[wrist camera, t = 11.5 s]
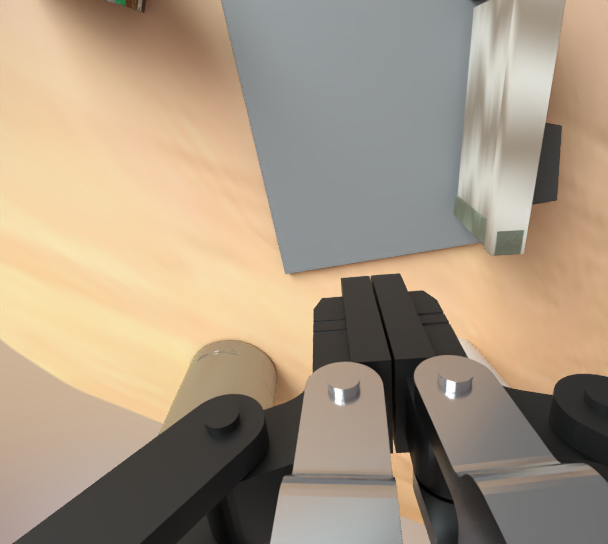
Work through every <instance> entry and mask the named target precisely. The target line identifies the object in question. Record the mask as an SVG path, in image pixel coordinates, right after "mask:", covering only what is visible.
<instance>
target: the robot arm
mask: <svg viewBox="0 0 608 544" xmlns="http://www.w3.org/2000/svg"><path fill="white" fill-rule="evenodd" d="M341 289H342V297H332V298H322V299H321V300H320V302H319V303H318V304H317V306H316V307H315V308H314V324H313V333H314V334H313V374H312V375H311V376H310V377H309V378H308V380H307V382H306V386H305V391H304V392H302V393H301V394H300V395H299V396H297V397H296V398H294V399H292V400H290V401H288V402H286V403H283V404H281V405H277V406H274V399H275V391H276V384H277V374H276V370H275V367H274V365H273V363H272V362H271V360H270V359H269V358H268V357H267V355H266V354H265V353H263V352H262V351H261V350H259V349H258V348H256V347H254V346H252V345H250V344H247V343H244V342H241V341H233V340H226V341H218V342H214V343H211V344H209V345H207V346H205V347H204V348H202V349H201V350H200V351H198V353H197V354H196V355H195V356H194V358H193V360H192V362H191V364H190V367H189V369H188V371H187V373H186V375H185V377H184V380H183V382H182V384H181V386H180V388H179V390H178V392H177V395H176V397H175V399H174V401H173V404H172V406H171V408H170V410H169V412H168V415H167V417H166V419H165V421H164V424H163V426H162V428H161V430H160V432H159V435H158V436H157V437H156V438H154V439H153V440H152V441H150V442H149V443H148V444H146V445H145V446H144V447H142V448H141V449H139V450H138V451H137V452H135V453H134V454H133V455H131V456H130V457H129V458H127V459H126V460H125V461H123V462H122V463H121V464H119V465H118V466H117V467H115V468H114V469H112V470H111V471H110V472H108V473H107V474H106V475H104V476H103V477H102V478H100V479H99V480H98V481H96V482H95V483H94V484H92V485H91V486H90V487H88V488H87V489H86V490H84V491H83V492H82V493H80V494H79V495H78V496H76V497H75V498H73V499H72V500H71V501H69V502H68V503H67V504H65V505H64V506H63V507H61V508H60V509H59V510H57V511H56V512H55V513H53V514H52V515H50V516H49V517H48V518H47V519H45V520H44V521H43V522H41V523H40V524H38V525H37V526H36V527H34V528H33V529H32V530H30V531H29V532H28V533H27V534H25V535H24V536H22V537H21V538H20V539H18V540H17V541H16V542H14V543H13V544H403V541H402V531H401V522H400V513H399V504H398V495H397V487H396V481H395V477H393V475H392V466H391V456H390V453H393V440H394V445H395V449H396V453H405V452H410V456H411V460H412V464H413V489H414V493H415V496H416V499H417V502H418V505H419V508H420V511H421V514H422V518H423V521H424V524H425V527H426V530H427V533H428V536H429V539H430V542H431V544H608V377H605V376H600V375H594V374H575V375H570V376H567V377H564V378H562V379H561V380H559V381H558V382H557V383H556V385H555V387H554V391H553V395H548V394H541V393H535V392H529V391H522V390H517V389H512V388H509V387H505V386H502V385H501V383H500V382H499V381H498V379H497V378H496V377H495V375H494V374H493V373H492V372H491V371H490V370H489V369H488V368H487V367H486V366H484V365H482V364H481V363H479V362H477V361H475V360H472V359H469V358H468V356H467V355H466V353H465V351H464V349H463V347H462V345H461V344H460V342H459V340H458V338H457V336H456V334H455V333H454V331H453V329H452V327H451V325H450V324H449V322H448V320H447V318H446V316H445V314H443V311H442V309H441V307H440V305H439V303H438V301H437V300H436V299H435V298H433V297H432V296H430V295H429V294H427V293H426V292H424V291H410V292H408V291H407V288H406V286H405V284H404V281H403V279H402V277H401V275H400V273H399V274H386V275H373V276H371V279H370V277H369V276H362V277H349V278H341ZM273 406H274V407H273Z"/></svg>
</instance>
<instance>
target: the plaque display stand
mask: <svg viewBox="0 0 608 544" xmlns="http://www.w3.org/2000/svg"><path fill="white" fill-rule="evenodd" d="M487 1H489V0H221V2H222V6H223V10H224V14H225V19H226V23H227V27H228V31H229V36H230V40H231V44H232V49H233V53H234V57H235V61H236V66H237V70H238V74H239V78H240V83H241V87H242V91H243V95H244V100H245V104H246V108H247V112H248V117H249V121H250V125H251V130H252V134H253V138H254V142H255V147H256V151H257V155H258V159H259V164H260V168H261V172H262V176H263V181H264V185H265V189H266V194H267V198H268V202H269V206H270V211H271V215H272V219H273V223H274V228H275V232H276V236H277V240H278V245H279V249H280V253H281V257H282V262H283V266H284V270H285V274H289V273H295V272H301V271H308V270H314V269H320V268H326V267H332V266H338V265H345V264H351V263H357V262H363V261H369V260H375V259H382V258H388V257H394V256H400V255H406V254H412V253H419V252H425V251H431V250H437V249H443V248H449V247H456V246H462V245H468V244H474V243H480V241H479V240H478V239H477V238H476V237H475V236H474V235H473V234H472V233H471V232H470V231H469V230H468V229H467V228H466V227H465V226H464V225H463V224H462V223H461V222H460V221H459V220H458V219H457V218H456V217H455V216H454V215H453V214H454V202H455V195H458V185H459V173H460V162H461V150H462V139H463V127H464V115H465V104H466V92H467V81H468V69H469V58H470V46H471V34H472V23H473V11H474V7H476V6H478V5H480V4H482V3H485V2H487ZM561 130H562V126H560V125H555V124H549V123H545V128H544V134H543V140H542V146H541V152H540V158H539V165H538V171H537V177H536V183H535V189H534V195H533V201H532V204H538V203H544V202H550V201H556V200H557V191H558V176H559V161H560V146H561Z"/></svg>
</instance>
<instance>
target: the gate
mask: <svg viewBox="0 0 608 544" xmlns="http://www.w3.org/2000/svg"><path fill="white" fill-rule="evenodd" d="M565 1H566V0H489V1H487V2H485V3H482V4H480V5H478V6H476V7H474V11H473V23H472V34H471V46H470V58H469V69H468V81H467V92H466V104H465V115H464V127H463V139H462V150H461V162H460V173H459V185H458V195H455V202H454V214H453V215H454V216H455V217H456V218H457V219H458V220H459V221H460V222H461V223H462V224H463V225H464V226H465V227H466V228H467V229H468V230H469V231H470V232H471V233H472V234H473V235H474V236H475V237H476V238H477V239H478V240H479V241H480V242H481V243H482V244H483V245H484V249H485V250H486V251H487V252H488V253H489V254H490V255H491V256H495V255H513V254H524V249H525V243H526V237H527V231H528V225H529V219H530V213H531V207H532V201H533V195H534V189H535V183H536V177H537V171H538V165H539V158H540V152H541V146H542V140H543V134H544V128H545V122H546V116H547V110H548V104H549V98H550V92H551V86H552V80H553V74H554V68H555V62H556V56H557V50H558V44H559V38H560V32H561V26H562V20H563V13H564V7H565Z"/></svg>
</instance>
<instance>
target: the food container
mask: <svg viewBox="0 0 608 544" xmlns="http://www.w3.org/2000/svg"><path fill="white" fill-rule="evenodd" d="M106 1H109V2H111V3H114V4H115V3H118V4H121V5H123V6H126V7H129V8H132V9H135V10H138V11H140V12H143V13H144V9H145V1H146V0H106Z"/></svg>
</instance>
